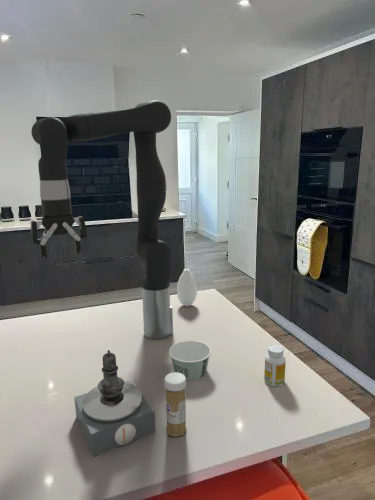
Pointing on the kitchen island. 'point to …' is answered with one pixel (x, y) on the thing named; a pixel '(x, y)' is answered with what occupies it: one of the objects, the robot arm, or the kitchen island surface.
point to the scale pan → (113, 412)
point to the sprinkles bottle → (175, 404)
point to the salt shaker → (110, 381)
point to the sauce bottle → (186, 288)
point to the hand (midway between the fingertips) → (61, 255)
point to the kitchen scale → (115, 427)
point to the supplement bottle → (275, 366)
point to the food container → (190, 358)
